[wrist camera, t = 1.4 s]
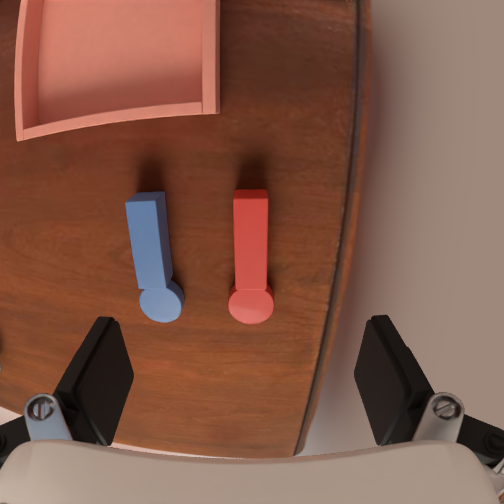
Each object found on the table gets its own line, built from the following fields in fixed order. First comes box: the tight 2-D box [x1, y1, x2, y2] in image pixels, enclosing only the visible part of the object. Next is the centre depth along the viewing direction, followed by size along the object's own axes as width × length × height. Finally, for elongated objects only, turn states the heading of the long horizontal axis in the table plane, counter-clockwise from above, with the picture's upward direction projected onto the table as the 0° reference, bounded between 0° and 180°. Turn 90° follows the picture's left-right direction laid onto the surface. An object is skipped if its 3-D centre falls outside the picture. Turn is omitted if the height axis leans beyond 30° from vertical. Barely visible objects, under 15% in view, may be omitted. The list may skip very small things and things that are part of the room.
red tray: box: [15, 0, 220, 141], centre depth 14 cm, size 13×13×3 cm
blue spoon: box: [125, 191, 184, 322], centre depth 21 cm, size 3×10×2 cm, turn 0°
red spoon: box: [228, 189, 274, 324], centre depth 21 cm, size 3×10×2 cm, turn 0°
